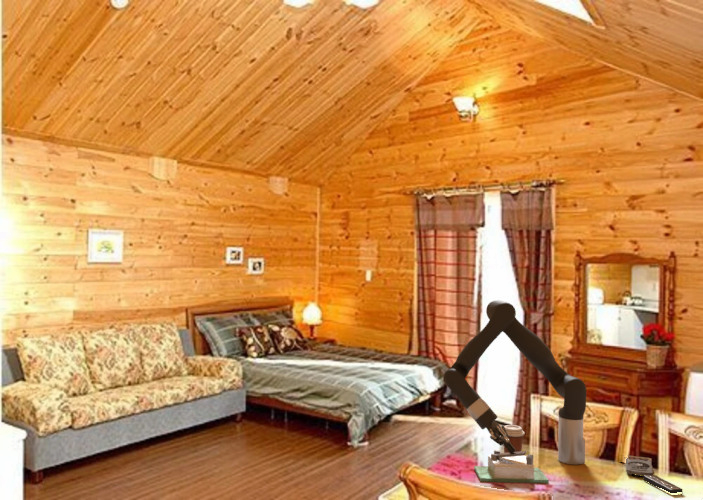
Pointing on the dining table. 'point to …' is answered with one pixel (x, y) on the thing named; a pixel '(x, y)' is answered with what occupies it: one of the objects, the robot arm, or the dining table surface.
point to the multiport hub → (661, 483)
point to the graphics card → (639, 466)
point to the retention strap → (521, 453)
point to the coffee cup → (514, 437)
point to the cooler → (510, 470)
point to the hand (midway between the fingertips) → (513, 452)
